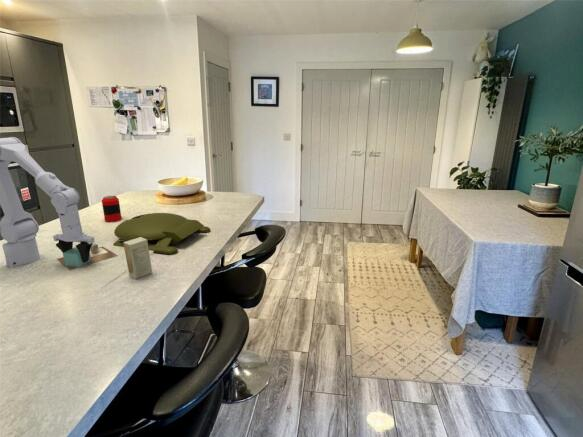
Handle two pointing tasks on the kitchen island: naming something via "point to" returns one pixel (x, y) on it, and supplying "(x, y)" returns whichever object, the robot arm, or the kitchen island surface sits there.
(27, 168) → the robot arm
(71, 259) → the knob
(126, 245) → the skincare box
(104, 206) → the soda can
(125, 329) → the kitchen island surface
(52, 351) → the kitchen island surface
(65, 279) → the kitchen island surface
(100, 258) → the board
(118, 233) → the green turtle
